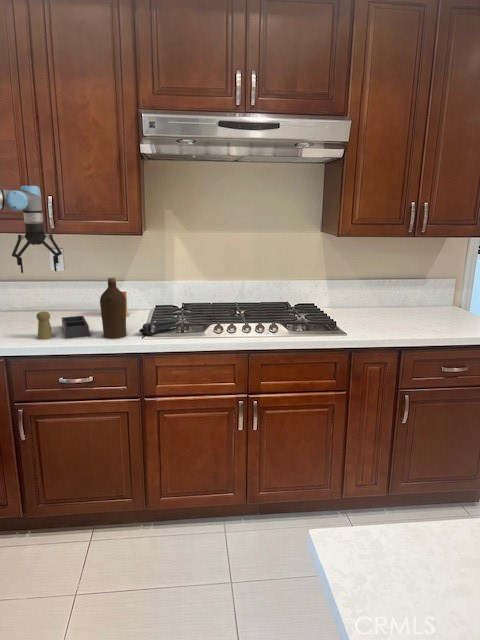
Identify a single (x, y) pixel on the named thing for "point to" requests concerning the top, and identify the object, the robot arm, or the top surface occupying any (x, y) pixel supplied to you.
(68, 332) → the dark grey hollow block
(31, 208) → the robot arm
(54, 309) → the top surface
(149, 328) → the can opener
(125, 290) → the small box
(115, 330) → the olive oil
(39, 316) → the cork
